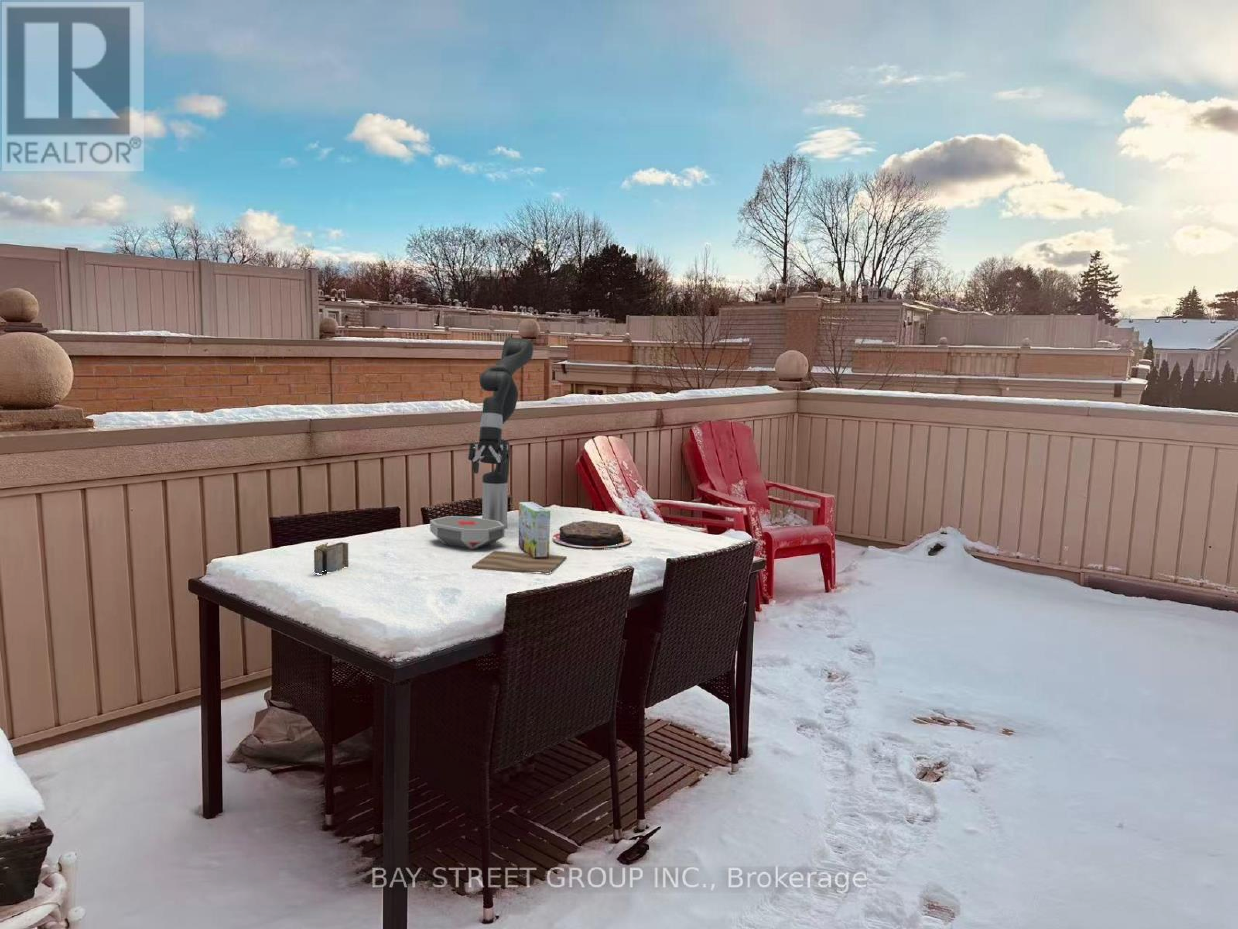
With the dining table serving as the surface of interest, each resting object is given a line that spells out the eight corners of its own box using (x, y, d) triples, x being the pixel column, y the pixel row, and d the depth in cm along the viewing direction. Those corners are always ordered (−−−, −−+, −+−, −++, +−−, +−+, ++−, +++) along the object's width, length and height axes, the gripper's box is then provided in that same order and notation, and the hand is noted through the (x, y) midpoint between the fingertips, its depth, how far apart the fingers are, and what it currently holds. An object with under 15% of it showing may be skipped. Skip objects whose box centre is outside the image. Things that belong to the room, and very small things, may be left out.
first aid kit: (420, 543, 267) (478, 554, 254) (420, 522, 266) (478, 531, 253) (456, 535, 282) (512, 545, 269) (456, 514, 281) (512, 523, 268)
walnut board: (494, 553, 257) (494, 550, 257) (566, 558, 252) (566, 556, 252) (471, 568, 237) (472, 565, 237) (549, 574, 233) (549, 571, 233)
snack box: (516, 546, 266) (518, 501, 265) (532, 546, 268) (534, 501, 267) (532, 558, 247) (534, 510, 246) (550, 557, 249) (552, 509, 248)
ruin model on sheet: (323, 577, 224) (322, 544, 222) (314, 576, 225) (313, 542, 223) (349, 568, 234) (349, 536, 233) (341, 567, 235) (341, 535, 234)
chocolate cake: (605, 555, 261) (606, 535, 260) (536, 543, 275) (536, 524, 274) (645, 540, 285) (645, 522, 284) (579, 530, 299) (580, 512, 298)
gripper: (514, 429, 278) (510, 475, 276) (477, 428, 282) (473, 474, 280) (505, 425, 271) (501, 473, 269) (467, 425, 275) (463, 471, 273)
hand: (487, 473), depth 275 cm, fingers open, 8 cm apart
